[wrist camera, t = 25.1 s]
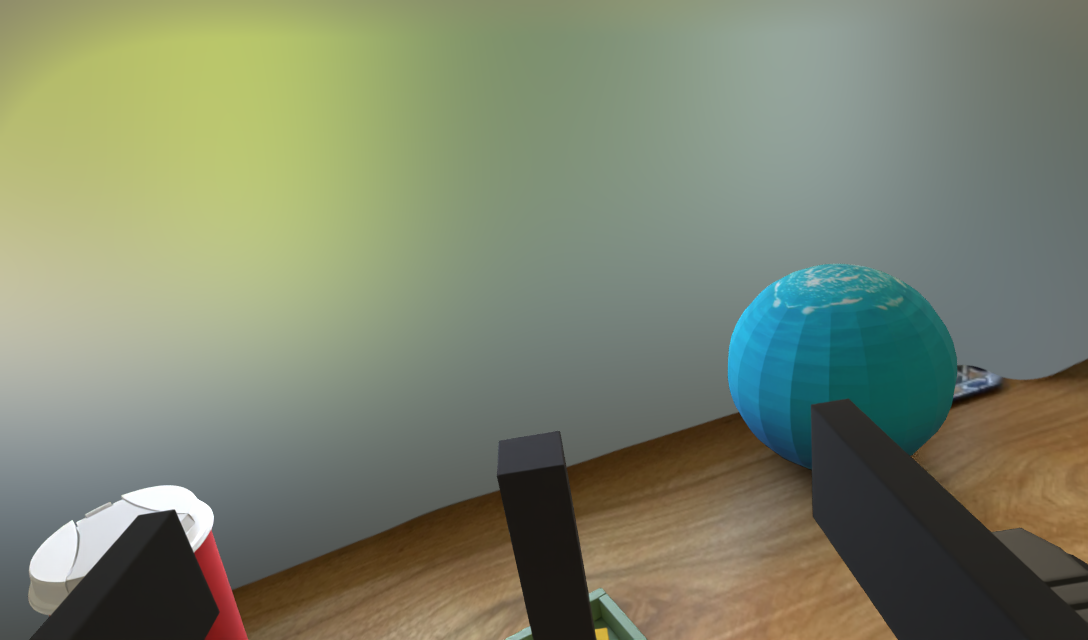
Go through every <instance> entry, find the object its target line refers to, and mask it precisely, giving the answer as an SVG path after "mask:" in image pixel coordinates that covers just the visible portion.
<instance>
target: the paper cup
mask: <svg viewBox="0 0 1088 640" xmlns="http://www.w3.org/2000/svg"><path fill="white" fill-rule="evenodd" d="M121 497H122V500H120V501H118V502H116V503H114V504H111V502H109V503H107V504H105V505H103V506H101V507H99V508H97V509H95V510H93V511H91V512H89V513H87V514H85V516H86V518H84V519H82V520H80V521H78V522H77V525H78V527H77V528H76V526H75V524H74V522H73V521H72V520H71V521H70V522H69V523H67V524H66V525H64V526H63V527H61V528H60V529H59V530H58V531H56V532H55V533H54V534H53V535H51V536H50V537H49V538H48V539H47V540H46V541H45V542H44V543H43V544H42V545H41V546H40V548H39V549H38V550H37V552H36V553H35V554H34V556H33V558H32V560H31V563H30V568H29V575H30V579H31V584H30V587H29V593H28V599H29V604H30V605H31V606H32V608H33V609H34V610H35V611H37V612H39V613H42V614H46V615H49V616H50V615H51V614H52V613H53V612H54V611H55V610H56V609H57V607H58V606H59V605H60V604H61V603H62V602H63V601H64V599H65V598H66V597H67V596H68V595H69V594H70V593H71V591H72V590H73V589H74V588H75V587H76V586H77V585H78V583H79V582H80V581H81V580H82V579H83V578H84V577H85V575H86V574H87V573H88V572H89V571H90V570H91V569H92V567H93V566H94V565H95V564H96V563H97V562H98V561H99V559H100V558H101V557H102V556H103V555H104V554H105V553H106V551H107V550H108V549H109V548H110V547H111V546H112V545H113V543H114V542H115V541H116V540H117V539H118V538H119V537H120V535H121V534H122V533H123V532H124V531H125V530H126V529H127V527H128V526H129V525H130V524H131V523H132V522H133V521H134V519H135V518H136V517H137V516H138V515H142V514H148V513H154V512H160V511H166V510H172V509H175V511H176V513H177V515H178V517H179V520H180V522H181V524H182V527H183V529H184V531H185V533H186V536H187V538H188V540H189V543H190V545H191V547H192V549H193V552H194V554H195V556H196V558H197V561H198V563H199V565H200V568H201V570H202V572H203V574H204V577H205V579H206V581H207V583H208V586H209V588H210V590H211V593H212V595H213V597H214V599H215V602H216V604H217V606H218V609H219V611H220V613H219V615H218V617H217V618H216V620H215V622H214V624H213V626H212V627H211V629H210V631H209V633H208V635H207V636H206V638H205V640H248V638H247V635H246V632H245V629H244V626H243V623H242V620H241V617H240V614H239V611H238V608H237V605H236V602H235V599H234V596H233V593H232V590H231V588H230V585H229V582H228V579H227V576H226V573H225V570H224V567H223V564H222V561H221V558H220V555H219V552H218V549H217V546H216V543H215V540H214V537H213V534H212V531H211V528H212V525H213V517H214V515H213V513H212V510H211V509H210V507H209V506H208V505H206V504H205V503H203V502H202V501H200V500H198V499H197V498H196V497H195V495H194V494H193V493H192V492H191V491H189V490H187V489H185V488H183V487H180V486H172V485H171V486H170V485H169V486H157V487H150V488H145V489H141V490H138V491H134V492H130V493H128V494H125V495H122V496H121Z"/></svg>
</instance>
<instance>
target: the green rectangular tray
mask: <svg viewBox="0 0 1088 640" xmlns="http://www.w3.org/2000/svg"><path fill="white" fill-rule="evenodd" d="M589 599H590V605H591V611H592V616H593V622H594V628H595V629H602V628H607V630H608V636H609V640H647V639H646V637H645V636H644V635H643V634H642V633H641V632H640V631H639V630H638V628H637V627H636V626H635V625H634V624H633V623H632V622H631V621H630V619H629V618H628V617H627V616H626V615H625V614H624V613H623V611H622V610H621V609H620V608H619V607H618V606H617V605H616V604H615V602H614V601H613V600H612V599H611V598H610V597H609V596H608V595H607V594H606V592H605V591H604V590H603V589H602V588H599V589H597V590H595V591H594V592H592V593H590V594H589ZM505 640H533V637H532V632H531V628H530V626H529V627H527V628H525V629H523V630H522V631H520V632H518V633H516V634H514V635H512V636H510V637H509V638H507V639H505Z"/></svg>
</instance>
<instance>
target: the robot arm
mask: <svg viewBox="0 0 1088 640" xmlns="http://www.w3.org/2000/svg"><path fill="white" fill-rule="evenodd" d="M811 444H812V502H813V517H814V519H815V520H816V522H817V523H818V525H819V526H820V528H821V529H822V530H823V532H824V533H825V535H826V536H827V538H828V539H829V541H830V542H831V543H832V545H833V546H834V548H835V549H836V551H837V552H838V554H839V555H840V557H841V558H842V559H843V561H844V562H845V564H846V565H847V567H848V568H849V570H850V571H851V572H852V574H853V575H854V577H855V578H856V580H857V581H858V583H859V584H860V585H861V587H862V588H863V590H864V591H865V593H866V594H867V596H868V597H869V598H870V600H871V601H872V603H873V604H874V606H875V607H876V609H877V610H878V611H879V613H880V614H881V616H882V617H883V619H884V620H885V622H886V623H887V625H888V626H889V627H890V629H891V630H892V632H893V633H894V635H895V636H896V638H897V639H898V640H1088V571H1087V570H1086V569H1085V568H1084V567H1082V566H1081V565H1080V564H1079V563H1078V562H1076V561H1075V560H1074V559H1073V558H1072V557H1071V556H1069V555H1068V554H1067V553H1066V552H1065V551H1063V550H1062V549H1061V548H1060V547H1058V546H1056V545H1054V544H1052V543H1050V542H1048V541H1046V540H1044V539H1042V538H1040V537H1038V536H1036V535H1034V534H1032V533H1030V532H1028V531H1026V530H1024V529H1022V528H1016V529H1009V530H1003V531H997V532H990V531H989V530H988V529H987V528H986V527H985V526H984V525H983V524H982V523H981V522H980V521H979V520H978V519H976V518H975V517H974V516H973V515H972V514H971V513H970V512H969V511H968V510H967V509H966V508H965V507H964V506H963V505H962V504H961V503H959V502H958V501H957V500H956V499H955V498H954V497H953V496H952V495H951V494H950V493H949V492H948V491H947V490H946V489H945V488H943V487H942V486H941V485H940V484H939V483H938V482H937V481H936V480H935V479H934V478H933V477H932V476H931V475H930V474H929V473H927V472H926V471H925V470H924V469H923V468H922V467H921V466H920V465H919V464H918V463H917V462H916V461H915V460H914V459H913V458H912V457H910V456H909V455H908V454H907V453H906V452H905V451H904V450H903V449H902V448H901V447H900V446H899V445H898V444H897V443H896V442H894V441H893V440H892V439H891V438H890V437H889V436H888V435H887V434H886V433H885V432H884V431H883V430H882V429H881V428H880V427H878V426H877V425H876V424H875V423H874V422H873V421H872V420H871V419H870V418H869V417H868V416H867V415H866V414H865V413H864V412H862V411H861V410H860V409H859V408H858V407H857V406H856V405H855V404H854V403H853V402H852V401H851V400H850V399H849V398H848V399H842V400H836V401H830V402H824V403H818V404H812V405H811ZM219 613H220V611H219V609H218V606H217V604H216V602H215V599H214V597H213V595H212V593H211V590H210V588H209V586H208V583H207V581H206V579H205V577H204V574H203V572H202V570H201V568H200V565H199V563H198V561H197V558H196V556H195V554H194V552H193V549H192V547H191V545H190V543H189V540H188V538H187V536H186V533H185V531H184V529H183V527H182V524H181V522H180V520H179V517H178V515H177V513H176V511H175V509H172V510H166V511H160V512H154V513H148V514H142V515H138V516H137V517H136V518H135V519H134V521H133V522H132V523H131V524H130V525H129V526H128V527H127V529H126V530H125V531H124V532H123V533H122V534H121V535H120V537H119V538H118V539H117V540H116V541H115V542H114V543H113V545H112V546H111V547H110V548H109V549H108V550H107V551H106V553H105V554H104V555H103V556H102V557H101V558H100V559H99V561H98V562H97V563H96V564H95V565H94V566H93V567H92V569H91V570H90V571H89V572H88V573H87V574H86V575H85V577H84V578H83V579H82V580H81V581H80V582H79V583H78V585H77V586H76V587H75V588H74V589H73V590H72V591H71V593H70V594H69V595H68V596H67V597H66V598H65V599H64V601H63V602H62V603H61V604H60V605H59V606H58V607H57V609H56V610H55V611H54V612H53V613H52V614H51V615H50V617H49V618H48V619H47V620H46V621H45V622H44V623H43V625H42V626H41V627H40V628H39V629H38V630H37V631H36V633H35V634H34V635H33V636H32V637H31V638H30V639H29V640H205V638H206V636H207V635H208V633H209V631H210V629H211V627H212V626H213V624H214V622H215V620H216V618H217V617H218V615H219Z"/></svg>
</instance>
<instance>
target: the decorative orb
mask: <svg viewBox="0 0 1088 640" xmlns="http://www.w3.org/2000/svg"><path fill="white" fill-rule="evenodd" d="M956 378H957V357H956V352H955V348H954V344H953V341H952V339H951V336H950V334H949V332H948V330H947V328H946V326H945V324H944V323H943V322H942V320H941V319H940V317H939V316H938V315H937V313H936V312H935V310H934V309H933V308H932V306H931V305H930V303H929V302H928V301H927V300H926V299H925V298H924V297H923V296H922V295H921V294H920V293H919V292H918V291H916V290H915V289H913V288H912V287H911V286H909V285H907V284H906V283H904V282H903V281H901V280H899V279H897V278H895V277H893V276H891V275H889V274H886V273H884V272H882V271H879V270H876V269H872V268H868V267H863V266H858V265H851V264H826V265H819V266H814V267H810V268H806V269H803V270H799V271H796V272H793V273H791V274H789V275H787V276H785V277H783V278H782V279H780V280H778V281H776V282H774V283H772V284H771V285H770V286H768V287H767V288H766V289H764V290H763V291H762V292H761V293H760V294H759V295H758V296H757V297H756V298H755V299H754V301H753V302H752V303H751V304H750V305H749V306H748V307H747V308H746V310H745V311H744V313H743V314H742V316H741V317H740V319H739V320H738V322H737V324H736V326H735V329H734V331H733V334H732V336H731V341H730V346H729V357H728V381H729V388H730V392H731V395H732V398H733V401H734V403H735V405H736V407H737V409H738V410H739V412H740V414H741V416H742V417H743V419H744V421H745V422H746V424H747V425H748V427H749V428H750V430H751V431H752V432H753V433H754V434H755V436H756V437H757V438H758V439H759V440H760V441H761V442H763V443H764V444H765V445H766V446H768V447H769V448H770V449H772V450H773V451H774V452H776V453H777V454H779V455H780V456H782V457H783V458H784V459H787V460H789V461H791V462H793V463H796V464H798V465H801V466H803V467H806V468H808V469H811V470H812V444H811V405H812V404H818V403H824V402H830V401H836V400H842V399H848V398H849V399H850V400H851V401H852V402H853V403H854V404H855V405H856V406H857V407H858V408H859V409H860V410H861V411H862V412H864V413H865V414H866V415H867V416H868V417H869V418H870V419H871V420H872V421H873V422H874V423H875V424H876V425H877V426H878V427H880V428H881V429H882V430H883V431H884V432H885V433H886V434H887V435H888V436H889V437H890V438H891V439H892V440H893V441H894V442H896V443H897V444H898V445H899V446H900V447H901V448H902V449H903V450H904V451H905V452H906V453H907V454H908V455H909V456H911V455H913V454H914V453H915V452H916V451H917V450H918V449H919V448H920V447H921V446H922V445H924V444H925V443H926V442H927V441H928V440H929V439H930V438H931V437H932V436H933V435H934V434H935V433H936V432H937V431H938V430H939V428H940V427H941V425H942V424H943V423H944V421H945V420H946V417H947V415H948V413H949V410H950V408H951V405H952V400H953V395H954V389H955V383H956Z"/></svg>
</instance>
